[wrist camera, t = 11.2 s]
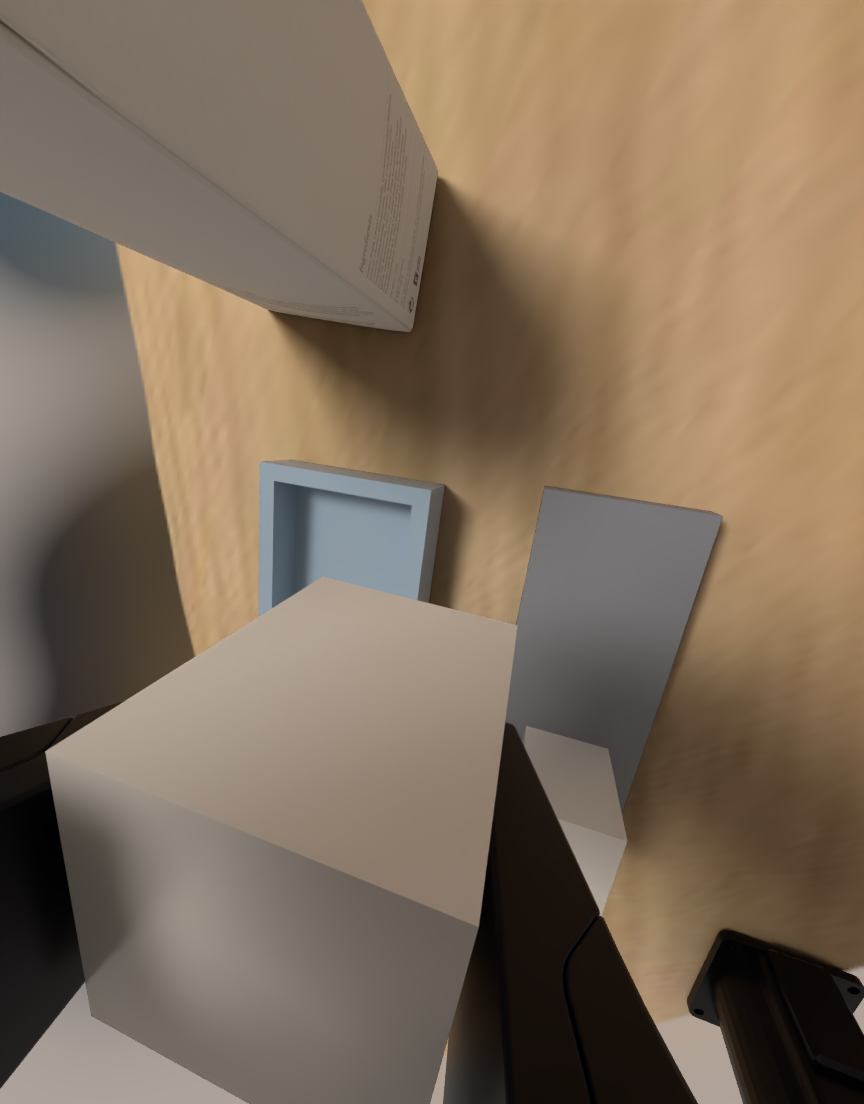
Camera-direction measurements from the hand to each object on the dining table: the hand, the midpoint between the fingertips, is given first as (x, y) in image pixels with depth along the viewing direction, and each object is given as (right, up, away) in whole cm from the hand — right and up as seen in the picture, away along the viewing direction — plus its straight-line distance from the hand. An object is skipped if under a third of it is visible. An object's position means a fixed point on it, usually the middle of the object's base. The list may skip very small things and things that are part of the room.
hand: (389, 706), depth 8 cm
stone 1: (0, 0, +1) cm, 1 cm away
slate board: (+8, -3, +13) cm, 15 cm away
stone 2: (+7, -8, +13) cm, 17 cm away
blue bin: (-4, 0, +15) cm, 16 cm away
